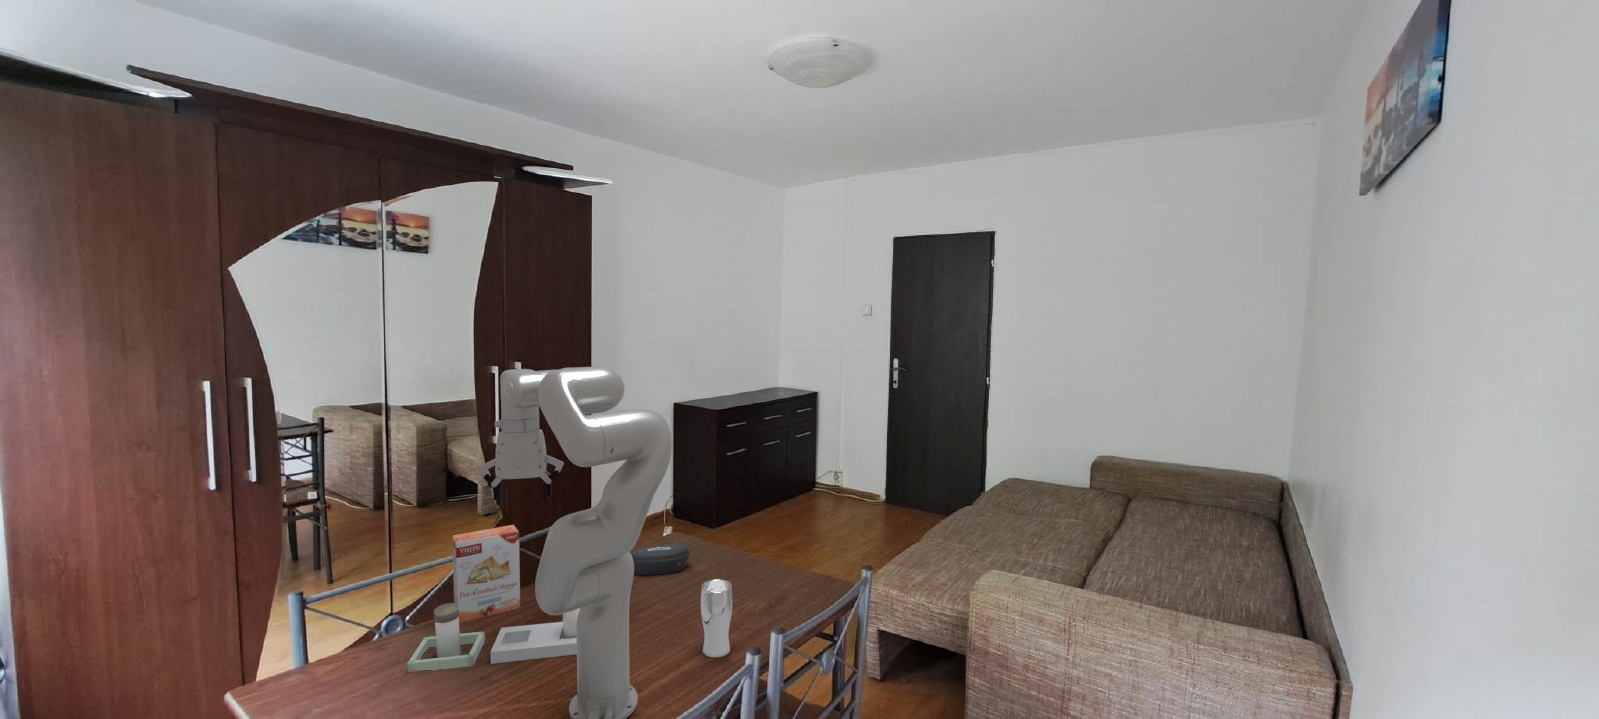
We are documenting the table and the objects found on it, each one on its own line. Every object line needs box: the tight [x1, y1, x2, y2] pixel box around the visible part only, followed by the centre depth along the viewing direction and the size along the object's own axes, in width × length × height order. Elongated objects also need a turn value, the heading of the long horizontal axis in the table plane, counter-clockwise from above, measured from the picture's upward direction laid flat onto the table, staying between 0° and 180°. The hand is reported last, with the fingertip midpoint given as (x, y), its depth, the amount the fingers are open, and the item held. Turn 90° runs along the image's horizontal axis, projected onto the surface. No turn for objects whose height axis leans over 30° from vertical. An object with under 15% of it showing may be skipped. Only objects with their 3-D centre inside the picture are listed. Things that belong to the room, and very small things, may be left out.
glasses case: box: [629, 543, 691, 576], centre depth 180 cm, size 18×10×8 cm, turn 108°
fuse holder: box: [489, 621, 577, 665], centre depth 138 cm, size 10×20×4 cm, turn 104°
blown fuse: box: [433, 602, 462, 658], centre depth 133 cm, size 5×5×11 cm
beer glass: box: [700, 578, 733, 659], centre depth 139 cm, size 7×7×15 cm
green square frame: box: [406, 631, 486, 671], centre depth 134 cm, size 10×12×3 cm
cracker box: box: [451, 524, 521, 624], centre depth 152 cm, size 14×6×21 cm, turn 126°
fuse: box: [562, 608, 580, 639], centre depth 139 cm, size 5×5×11 cm
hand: (523, 501), depth 139 cm, fingers open, 9 cm apart
